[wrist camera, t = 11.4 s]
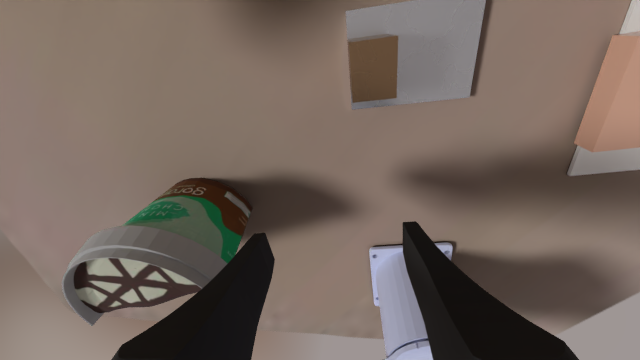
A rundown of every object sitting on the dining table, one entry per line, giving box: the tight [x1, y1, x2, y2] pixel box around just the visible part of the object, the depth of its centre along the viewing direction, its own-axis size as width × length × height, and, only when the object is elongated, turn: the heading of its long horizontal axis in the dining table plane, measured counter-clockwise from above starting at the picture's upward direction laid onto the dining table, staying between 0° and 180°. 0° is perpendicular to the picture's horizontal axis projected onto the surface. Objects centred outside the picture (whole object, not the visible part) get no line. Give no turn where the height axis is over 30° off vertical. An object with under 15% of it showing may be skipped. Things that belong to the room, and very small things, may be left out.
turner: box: [346, 0, 486, 110], centre depth 15 cm, size 8×6×5 cm
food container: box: [62, 178, 252, 326], centre depth 20 cm, size 12×6×10 cm, turn 112°
